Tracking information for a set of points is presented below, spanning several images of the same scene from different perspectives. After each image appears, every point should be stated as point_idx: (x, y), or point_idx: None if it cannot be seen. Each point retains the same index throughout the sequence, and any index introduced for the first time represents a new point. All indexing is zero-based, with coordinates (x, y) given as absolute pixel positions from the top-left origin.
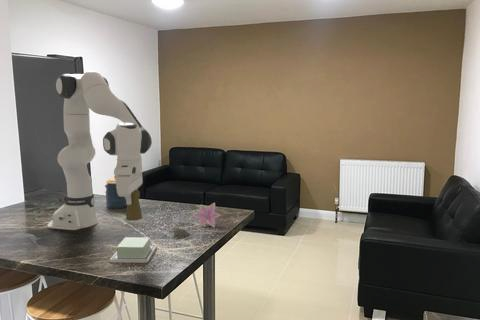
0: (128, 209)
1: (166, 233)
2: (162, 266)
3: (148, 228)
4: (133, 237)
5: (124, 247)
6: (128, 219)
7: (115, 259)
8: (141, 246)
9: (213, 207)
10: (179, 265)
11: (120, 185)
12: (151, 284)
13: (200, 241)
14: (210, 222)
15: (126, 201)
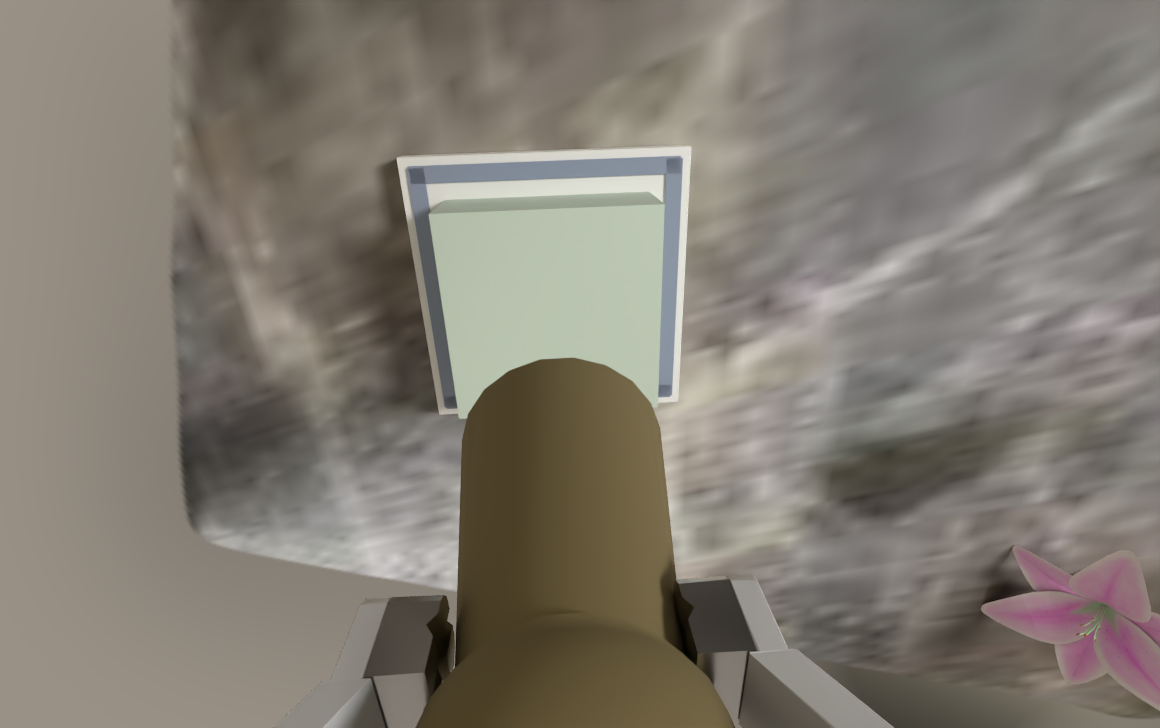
0: (472, 503)
1: (939, 383)
2: (411, 489)
3: (1097, 219)
4: (659, 281)
5: (439, 281)
6: (467, 420)
7: (404, 201)
8: (471, 403)
9: (1153, 696)
10: (439, 558)
11: None
12: (194, 494)
13: (764, 584)
14: (1023, 610)
15: (344, 650)
